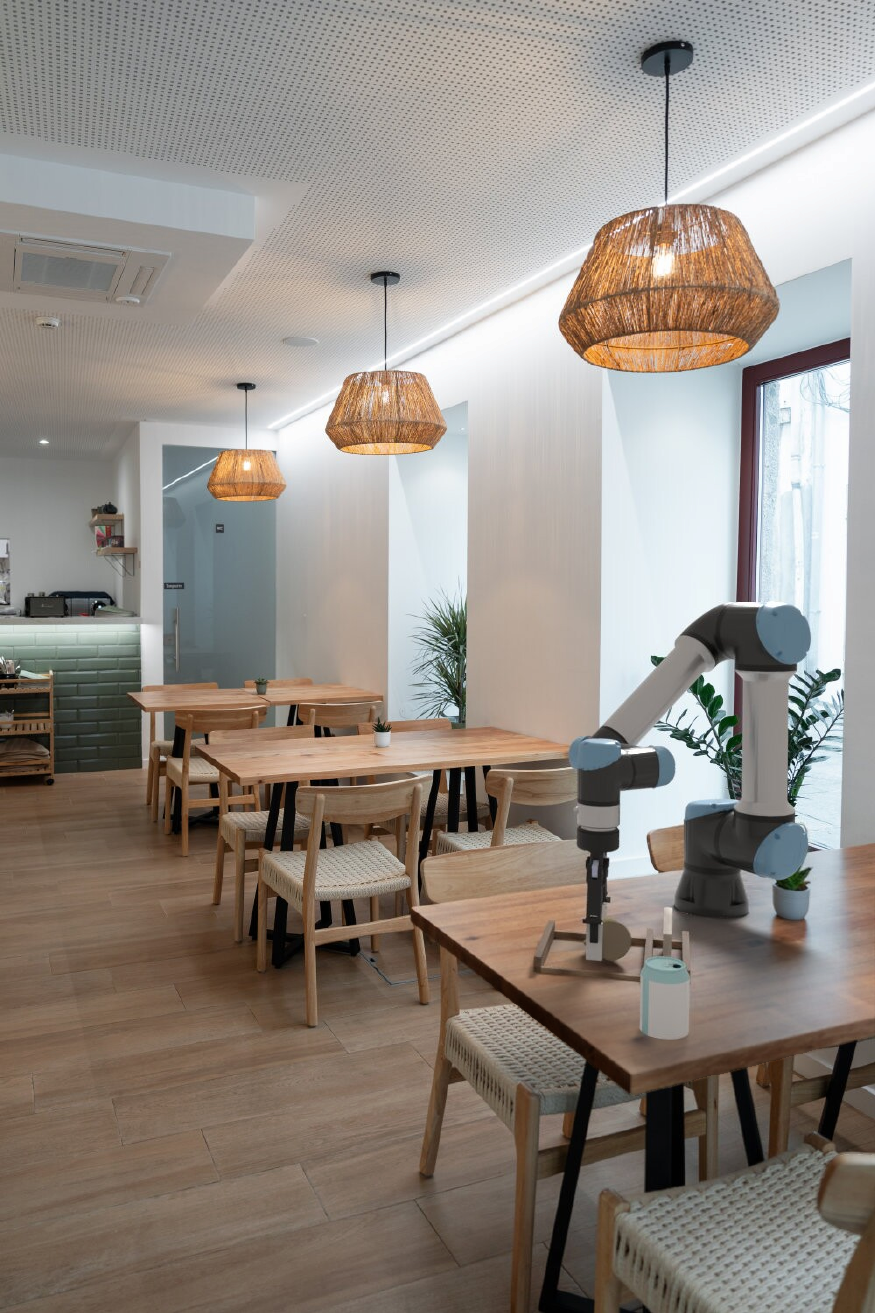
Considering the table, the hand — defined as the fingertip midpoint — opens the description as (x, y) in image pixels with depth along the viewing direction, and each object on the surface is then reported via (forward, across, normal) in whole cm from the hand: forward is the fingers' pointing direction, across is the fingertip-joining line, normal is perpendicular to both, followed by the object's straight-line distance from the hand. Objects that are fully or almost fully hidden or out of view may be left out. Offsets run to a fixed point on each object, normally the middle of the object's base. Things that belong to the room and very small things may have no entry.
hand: (596, 948), depth 177 cm
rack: (+3, 0, +3) cm, 4 cm away
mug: (+2, -2, +1) cm, 3 cm away
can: (+3, +30, +12) cm, 33 cm away
